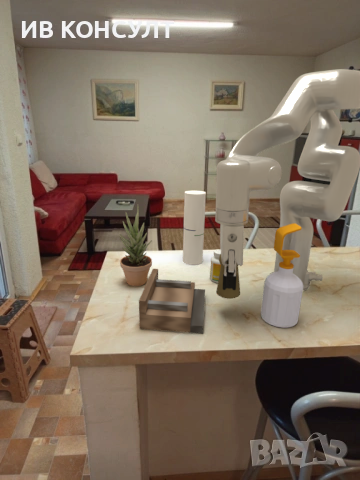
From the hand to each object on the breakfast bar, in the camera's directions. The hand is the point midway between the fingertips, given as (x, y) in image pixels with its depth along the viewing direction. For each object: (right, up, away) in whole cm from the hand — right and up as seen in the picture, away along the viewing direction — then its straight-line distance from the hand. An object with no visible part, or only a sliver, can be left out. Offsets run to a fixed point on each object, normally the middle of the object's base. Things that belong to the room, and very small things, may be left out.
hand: (228, 284), depth 80 cm
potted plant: (-25, -2, +18) cm, 32 cm away
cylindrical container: (-8, +3, +35) cm, 36 cm away
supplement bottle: (0, -2, +21) cm, 21 cm away
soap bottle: (+13, -9, +1) cm, 16 cm away
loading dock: (-13, -7, +3) cm, 16 cm away
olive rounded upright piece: (0, -2, +1) cm, 3 cm away
